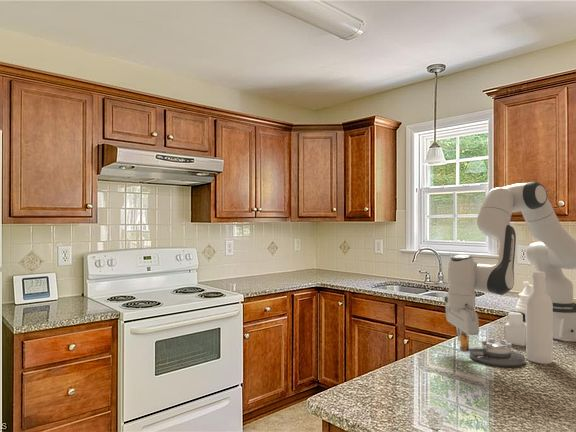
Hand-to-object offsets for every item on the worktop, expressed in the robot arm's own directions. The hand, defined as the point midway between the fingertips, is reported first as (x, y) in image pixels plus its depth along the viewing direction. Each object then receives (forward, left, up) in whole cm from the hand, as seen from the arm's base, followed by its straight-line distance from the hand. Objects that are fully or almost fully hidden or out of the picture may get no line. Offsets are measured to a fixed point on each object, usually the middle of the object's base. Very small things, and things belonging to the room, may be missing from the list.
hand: (461, 341), depth 151 cm
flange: (-11, +1, -5) cm, 12 cm away
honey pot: (-44, -69, -6) cm, 82 cm away
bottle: (-25, -1, -6) cm, 26 cm away
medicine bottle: (-24, -22, -6) cm, 33 cm away
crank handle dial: (-7, +1, -3) cm, 8 cm away
